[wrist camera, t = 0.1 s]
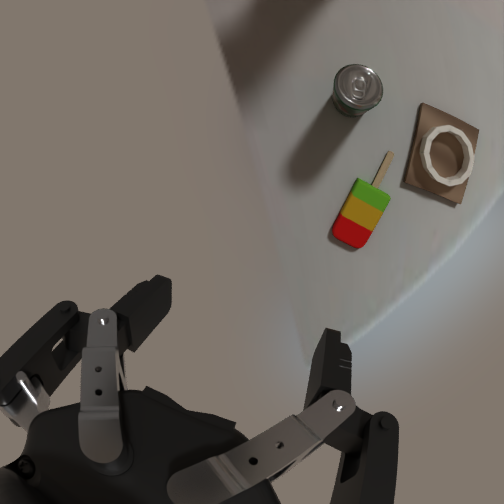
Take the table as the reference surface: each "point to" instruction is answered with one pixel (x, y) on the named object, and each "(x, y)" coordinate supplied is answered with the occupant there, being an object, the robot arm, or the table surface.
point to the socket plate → (441, 154)
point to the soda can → (356, 90)
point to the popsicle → (362, 209)
